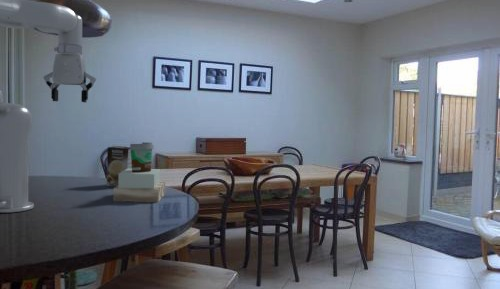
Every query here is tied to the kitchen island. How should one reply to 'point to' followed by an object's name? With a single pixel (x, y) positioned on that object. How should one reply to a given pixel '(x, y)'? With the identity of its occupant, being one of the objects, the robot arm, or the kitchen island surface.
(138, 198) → the tower base slab
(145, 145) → the food container
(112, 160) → the coffee box
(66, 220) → the kitchen island surface
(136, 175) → the tower top slab
